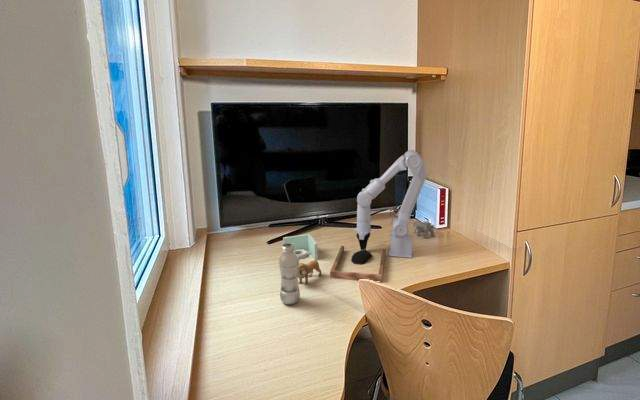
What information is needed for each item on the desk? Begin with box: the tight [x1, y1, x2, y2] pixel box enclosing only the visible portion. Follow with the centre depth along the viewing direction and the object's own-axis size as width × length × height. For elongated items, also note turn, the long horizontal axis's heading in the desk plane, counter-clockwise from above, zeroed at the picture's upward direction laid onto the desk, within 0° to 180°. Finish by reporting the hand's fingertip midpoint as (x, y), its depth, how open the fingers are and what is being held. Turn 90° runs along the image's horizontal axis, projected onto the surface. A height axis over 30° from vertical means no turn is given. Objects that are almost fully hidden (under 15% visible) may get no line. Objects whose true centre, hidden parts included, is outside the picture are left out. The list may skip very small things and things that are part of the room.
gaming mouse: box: [350, 249, 373, 265], centre depth 149 cm, size 6×15×4 cm, turn 146°
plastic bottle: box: [278, 243, 301, 305], centre depth 114 cm, size 6×7×20 cm
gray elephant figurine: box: [413, 220, 436, 239], centre depth 170 cm, size 9×12×8 cm
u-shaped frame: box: [329, 245, 386, 283], centre depth 142 cm, size 19×25×2 cm
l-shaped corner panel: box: [282, 233, 319, 261], centre depth 151 cm, size 12×12×8 cm
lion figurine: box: [298, 259, 322, 286], centre depth 130 cm, size 15×5×9 cm, turn 152°
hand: (363, 249), depth 154 cm, fingers closed
